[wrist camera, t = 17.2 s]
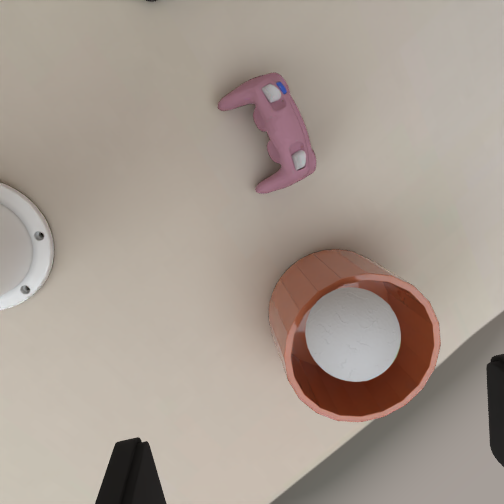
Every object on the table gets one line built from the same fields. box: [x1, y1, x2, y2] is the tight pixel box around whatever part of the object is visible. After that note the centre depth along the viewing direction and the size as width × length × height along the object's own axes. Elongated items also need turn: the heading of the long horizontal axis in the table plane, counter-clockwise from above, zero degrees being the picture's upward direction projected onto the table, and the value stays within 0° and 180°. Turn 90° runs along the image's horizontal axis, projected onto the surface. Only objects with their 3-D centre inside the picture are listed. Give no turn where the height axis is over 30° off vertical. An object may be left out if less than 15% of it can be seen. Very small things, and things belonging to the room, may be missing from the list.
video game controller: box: [218, 73, 316, 193], centre depth 35 cm, size 10×5×7 cm, turn 25°
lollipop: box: [305, 287, 401, 382], centre depth 34 cm, size 7×7×15 cm
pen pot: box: [269, 249, 441, 422], centre depth 38 cm, size 14×14×10 cm
